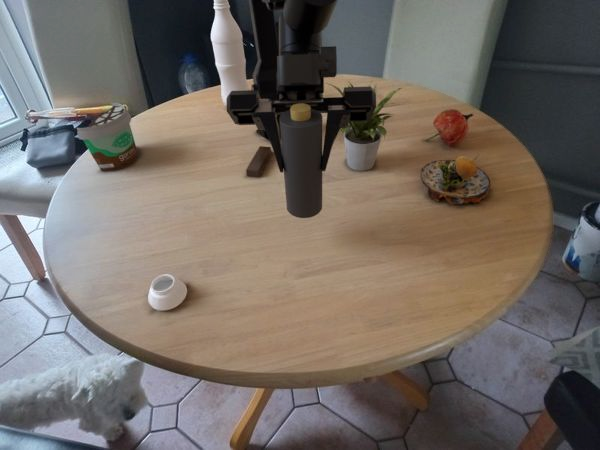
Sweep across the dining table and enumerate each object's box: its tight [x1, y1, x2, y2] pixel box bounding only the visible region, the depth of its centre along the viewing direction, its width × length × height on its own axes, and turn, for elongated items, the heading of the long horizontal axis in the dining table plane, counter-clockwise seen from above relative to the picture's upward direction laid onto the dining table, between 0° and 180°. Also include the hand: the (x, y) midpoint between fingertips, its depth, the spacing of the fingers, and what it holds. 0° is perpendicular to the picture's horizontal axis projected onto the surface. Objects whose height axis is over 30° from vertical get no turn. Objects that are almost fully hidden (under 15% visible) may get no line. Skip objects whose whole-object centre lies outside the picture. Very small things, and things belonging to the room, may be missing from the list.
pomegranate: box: [425, 108, 474, 147], centre depth 76 cm, size 7×7×10 cm
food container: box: [76, 102, 139, 172], centre depth 75 cm, size 12×6×10 cm, turn 168°
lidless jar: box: [147, 273, 188, 311], centre depth 49 cm, size 5×3×5 cm
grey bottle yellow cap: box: [279, 103, 323, 219], centre depth 49 cm, size 5×5×15 cm
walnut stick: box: [245, 145, 272, 178], centre depth 74 cm, size 9×2×2 cm, turn 167°
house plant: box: [324, 79, 403, 172], centre depth 68 cm, size 14×14×16 cm
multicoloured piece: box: [420, 155, 491, 205], centre depth 64 cm, size 12×12×8 cm
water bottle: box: [210, 0, 250, 108], centre depth 87 cm, size 7×7×25 cm
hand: (302, 171), depth 48 cm, fingers closed on grey bottle yellow cap, 5 cm apart
